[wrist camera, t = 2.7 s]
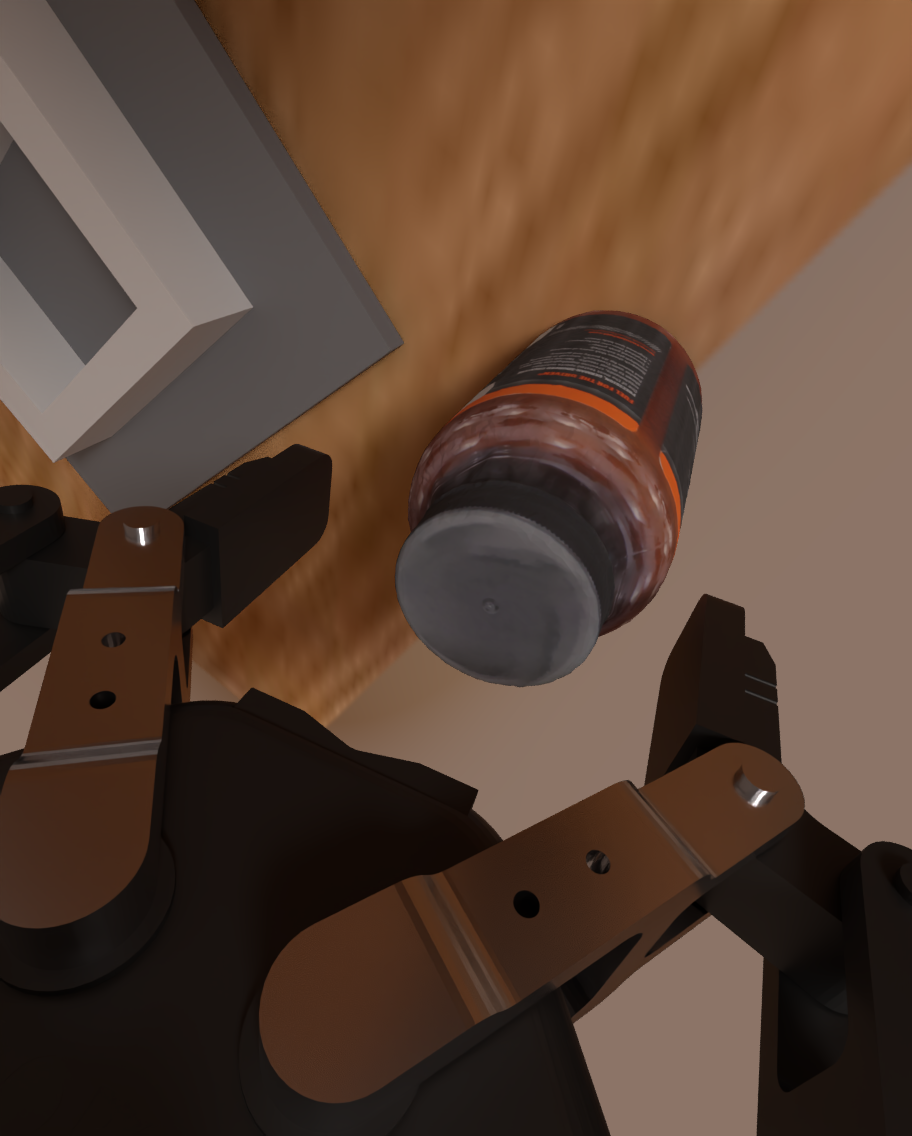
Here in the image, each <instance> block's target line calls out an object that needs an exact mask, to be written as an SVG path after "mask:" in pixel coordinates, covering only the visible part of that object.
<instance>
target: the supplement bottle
mask: <svg viewBox="0 0 912 1136" xmlns="http://www.w3.org/2000/svg"><path fill="white" fill-rule="evenodd" d="M701 419H702V395H701V387H700V382H699V379H698V376H697V373H696V370H695V368H694V366H693V363H692V362H691V360H690V358H689V356H688V355H687V353H686V351H685V350H684V348H683V347H682V346H681V345H680V344H679V343H678V341H677V340H676V339H675V338H674V337H673V336H672V335H671V334H670V333H669V332H667V331H666V330H665V329H664V328H662V327H661V326H659V325H657V324H656V323H654V322H652V321H650V320H648V319H645V318H643V317H640V316H638V315H634V314H631V313H626V312H620V311H591V312H587V313H583V314H579V315H576V316H573V317H570V318H568V319H566V320H564V321H562V322H560V323H558V324H557V325H555V326H553V327H551V328H550V329H549V330H547V331H546V332H544V333H543V334H541V335H540V336H539V337H538V338H537V339H536V340H535V341H534V342H533V343H531V344H530V345H529V346H528V347H527V348H526V349H525V350H524V351H523V352H522V353H521V354H520V355H518V356H517V357H516V358H515V359H514V360H513V361H512V362H511V363H510V364H509V365H508V366H507V367H506V368H505V369H504V370H503V371H502V372H501V373H500V374H498V375H497V376H496V377H495V378H494V379H493V380H492V381H491V382H490V383H489V384H488V385H487V386H486V387H485V388H483V389H482V390H481V391H480V392H479V393H478V394H477V395H476V396H475V397H474V398H473V399H472V400H471V401H470V402H469V403H468V404H467V405H465V406H464V407H463V408H462V409H461V410H460V411H459V412H458V413H457V414H456V415H455V416H454V417H453V418H452V419H451V420H450V421H449V422H448V423H447V424H446V425H445V426H444V427H443V428H442V429H441V430H440V431H439V432H438V433H437V435H436V436H435V437H434V438H433V440H432V441H431V442H430V444H429V445H428V446H427V448H426V449H425V451H424V453H423V455H422V456H421V459H420V461H419V463H418V465H417V468H416V471H415V474H414V477H413V480H412V484H411V490H410V495H409V501H408V503H409V508H408V521H409V524H410V529H411V533H410V535H409V536H408V538H407V539H406V540H405V542H404V544H403V546H402V548H401V550H400V553H399V556H398V559H397V563H396V573H395V587H396V592H397V597H398V601H399V604H400V606H401V609H402V612H403V614H404V616H405V618H406V620H407V621H408V623H409V625H410V626H411V628H412V629H413V631H414V632H415V634H416V635H417V637H418V638H419V639H420V640H421V641H422V642H423V643H424V644H425V645H426V646H427V648H428V649H429V650H431V651H432V652H433V653H434V654H435V655H437V656H438V657H440V658H441V659H442V660H443V661H444V662H445V663H447V664H449V665H450V666H452V667H453V668H455V669H457V670H459V671H461V672H462V673H464V674H467V675H469V676H471V677H474V678H476V679H479V680H483V681H485V682H489V683H495V684H502V685H508V686H517V687H525V686H535V685H542V684H546V683H550V682H553V681H555V680H556V679H559V678H562V677H564V676H566V675H568V674H570V673H571V672H572V671H573V670H574V669H575V668H577V667H578V666H579V665H581V664H582V663H583V662H584V661H585V659H586V658H587V656H588V655H589V654H590V652H591V651H592V649H593V647H594V645H595V644H596V641H597V639H598V637H599V636H602V635H605V634H607V633H609V632H611V631H614V630H616V629H617V628H619V627H621V626H622V625H624V624H626V623H628V622H630V621H631V619H633V618H634V617H635V616H636V615H638V614H639V613H640V612H641V611H642V610H643V609H644V608H645V607H646V606H647V604H649V603H650V602H651V601H652V599H653V598H654V597H655V595H656V593H657V592H658V591H659V588H660V586H661V585H662V583H663V582H664V580H665V578H666V575H667V573H668V570H669V568H670V565H671V563H672V560H673V557H674V555H675V551H676V547H677V542H678V538H679V532H680V528H681V523H682V518H683V513H684V508H685V502H686V498H687V493H688V489H689V485H690V478H691V474H692V468H693V463H694V457H695V452H696V447H697V442H698V437H699V431H700V425H701Z"/></svg>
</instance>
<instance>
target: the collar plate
mask: <svg viewBox="0 0 912 1136" xmlns="http://www.w3.org/2000/svg"><path fill="white" fill-rule="evenodd" d="M402 344H404V342H403V340H402V339H401V337H400V335H399V334H398V332H397V330H396V329H395V327H394V326H393V324H392V322H391V321H390V319H389V317H388V316H387V314H386V313H385V311H384V309H383V308H382V306H381V304H380V303H379V301H378V299H377V298H376V296H375V295H374V293H373V291H372V290H371V288H370V286H369V285H368V283H367V282H366V280H365V278H364V277H363V275H362V273H361V272H360V270H359V268H358V267H357V265H356V264H355V262H354V260H353V259H352V257H351V255H350V254H349V252H348V251H347V249H346V247H345V246H344V244H343V242H342V241H341V239H340V237H339V236H338V234H337V233H336V231H335V229H334V228H333V226H332V224H331V223H330V221H329V220H328V218H327V216H326V215H325V213H324V211H323V210H322V208H321V206H320V205H319V203H318V202H317V200H316V198H315V197H314V195H313V193H312V192H311V190H310V189H309V187H308V185H307V184H306V182H305V180H304V179H303V177H302V176H301V174H300V172H299V171H298V169H297V167H296V166H295V164H294V162H293V161H292V159H291V158H290V156H289V154H288V153H287V151H286V149H285V148H284V146H283V145H282V143H281V141H280V140H279V138H278V136H277V135H276V133H275V131H274V130H273V128H272V127H271V125H270V123H269V122H268V120H267V118H266V117H265V115H264V114H263V112H262V110H261V109H260V107H259V105H258V104H257V102H256V100H255V99H254V97H253V96H252V94H251V92H250V91H249V89H248V87H247V86H246V84H245V83H244V81H243V79H242V78H241V76H240V74H239V73H238V71H237V69H236V68H235V66H234V65H233V63H232V61H231V60H230V58H229V56H228V55H227V53H226V52H225V50H224V48H223V47H222V45H221V43H220V42H219V40H218V38H217V37H216V35H215V34H214V32H213V30H212V29H211V27H210V25H209V24H208V22H207V21H206V19H205V17H204V16H203V14H202V12H201V11H200V9H199V7H198V6H197V4H196V3H195V1H194V0H0V399H1V400H2V401H3V403H4V404H5V405H6V406H7V407H8V409H9V410H10V411H11V412H12V413H13V415H14V416H15V417H16V418H17V419H18V421H19V422H20V423H21V424H22V425H23V427H24V428H25V429H26V430H27V431H28V433H29V434H30V435H31V436H32V437H33V439H34V440H35V441H36V442H37V443H38V445H39V446H40V447H41V448H42V449H43V451H44V452H45V453H46V454H47V455H48V457H49V458H50V459H51V460H52V461H53V463H54V462H57V461H59V460H61V459H63V458H66V459H67V460H68V461H69V463H70V464H71V465H72V466H73V467H74V469H75V470H76V471H77V472H78V473H79V475H80V476H81V477H82V478H83V480H84V481H85V482H86V483H87V484H88V486H89V487H90V488H91V489H92V490H93V492H94V493H95V494H96V495H97V496H98V498H99V499H100V500H101V501H102V502H103V504H104V505H105V506H106V507H107V509H108V510H109V511H110V512H111V513H113V512H115V511H118V510H121V509H124V508H129V507H136V506H154V507H160V508H164V509H168V508H170V507H171V506H173V505H174V504H176V503H177V502H178V501H180V500H181V499H183V498H184V497H186V496H187V495H188V494H190V493H191V492H193V491H194V490H196V489H197V488H198V487H200V486H201V485H203V484H204V483H205V482H207V481H208V480H210V479H211V478H213V477H214V476H215V475H217V474H218V473H220V472H221V471H223V470H224V469H225V468H227V467H228V466H230V465H231V464H233V463H234V462H235V461H237V460H238V459H240V458H241V457H243V456H244V455H245V454H247V453H248V452H250V451H251V450H253V449H254V448H255V447H257V446H258V445H260V444H261V443H263V442H264V441H265V440H267V439H268V438H270V437H271V436H273V435H274V434H275V433H277V432H278V431H280V430H281V429H283V428H284V427H285V426H287V425H288V424H290V423H291V422H292V421H294V420H295V419H297V418H298V417H300V416H301V415H302V414H304V413H305V412H307V411H308V410H310V409H311V408H312V407H314V406H315V405H317V404H318V403H320V402H321V401H322V400H324V399H325V398H327V397H328V396H330V395H331V394H332V393H334V392H335V391H337V390H338V389H340V388H341V387H342V386H344V385H345V384H347V383H348V382H350V381H351V380H352V379H354V378H355V377H357V376H358V375H360V374H361V373H362V372H364V371H365V370H367V369H368V368H370V367H371V366H372V365H374V364H375V363H377V362H378V361H380V360H381V359H382V358H384V357H385V356H387V355H388V354H389V353H391V352H392V351H394V350H395V349H397V348H398V347H399V346H401V345H402Z"/></svg>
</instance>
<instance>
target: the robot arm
mask: <svg viewBox="0 0 912 1136" xmlns="http://www.w3.org/2000/svg"><path fill="white" fill-rule="evenodd" d="M331 476H332V460H331V457H330V456H329V455H327V454H324V453H322V452H319V451H316V450H313V449H311V448H308V447H305V446H302V445H300V444H294V445H292V446H290V447H289V448H287V449H286V450H284V451H282V452H281V453H279V454H278V455H276V456H275V457H273V458H269V457H265V458H261V459H257V460H254V461H250V462H246V463H243V464H242V465H240V466H239V467H237V468H235V469H234V470H232V471H230V472H229V473H228V475H227V476H226V475H224V476H222V477H221V478H219V479H217V480H216V481H214V484H209V485H208V486H206V487H204V488H203V489H201V490H199V491H198V492H196V493H194V494H193V495H191V496H190V497H188V498H186V499H185V500H183V501H181V502H180V503H178V504H176V505H175V506H173V507H172V508H170V509H168V510H167V509H164V508H160V507H154V506H136V507H129V508H124V509H121V510H118V511H115V512H113V513H111V514H110V515H108V516H106V517H105V518H104V519H103V520H102V521H101V522H97V521H91V520H85V519H78V518H72V517H66V516H63V511H62V507H61V502H60V499H59V497H58V495H57V494H56V493H54V492H53V491H51V490H49V489H46V488H43V487H39V486H33V485H10V486H3V487H0V692H1V691H2V690H3V689H4V688H6V687H7V686H8V685H10V684H11V683H12V682H13V681H15V680H16V679H17V678H18V677H20V676H21V675H22V674H24V673H25V672H26V671H27V670H29V669H30V668H31V667H32V666H34V665H35V664H36V663H38V662H39V661H40V660H41V659H42V658H44V657H45V656H46V655H48V654H49V653H50V652H51V654H50V658H49V662H48V665H47V669H46V672H45V676H44V680H43V683H42V687H41V691H40V694H39V698H38V701H37V705H36V709H35V713H34V716H33V720H32V723H31V727H30V731H29V734H28V738H27V742H26V745H25V748H24V749H21V750H17V751H14V752H11V753H7V754H4V755H0V1136H611V1135H610V1132H609V1130H608V1126H607V1123H606V1120H605V1118H604V1115H603V1112H602V1109H601V1106H600V1103H599V1100H598V1097H597V1094H596V1091H595V1088H594V1085H593V1082H592V1079H591V1076H590V1073H589V1070H588V1067H587V1064H586V1062H585V1059H584V1055H583V1052H582V1049H581V1046H580V1044H579V1041H578V1037H577V1034H576V1031H575V1029H574V1026H573V1023H575V1022H576V1021H577V1020H579V1019H580V1018H581V1017H583V1016H584V1015H585V1014H587V1013H588V1012H589V1011H591V1010H592V1009H593V1008H594V1007H596V1006H597V1005H598V1004H600V1003H601V1002H602V1001H603V1000H604V999H605V998H607V997H608V996H609V995H610V994H611V993H612V992H614V991H615V990H616V989H617V988H618V987H619V986H620V985H621V984H622V983H623V982H624V981H625V980H626V979H627V978H629V977H630V976H631V975H632V974H633V973H634V972H636V971H637V970H638V969H639V968H641V967H642V966H643V965H645V964H646V963H648V962H649V961H650V960H652V959H653V958H654V957H655V956H657V955H658V954H660V953H661V952H662V951H664V950H665V949H666V948H668V947H669V946H670V945H672V944H673V943H674V942H676V941H677V940H678V939H680V938H681V937H683V936H684V935H685V934H687V933H688V932H689V931H691V930H692V929H693V928H695V927H696V926H697V925H698V924H700V923H701V922H703V921H704V920H705V919H707V918H708V917H710V916H711V915H713V916H714V917H715V918H716V919H718V920H719V921H720V922H721V923H723V924H724V925H725V926H726V927H727V928H729V929H730V930H731V931H732V932H734V933H735V934H736V935H737V936H739V937H740V938H741V939H742V940H743V941H745V942H746V943H747V944H748V945H750V946H751V947H752V948H753V949H754V950H756V951H757V952H758V953H759V954H761V955H762V956H763V957H764V961H763V986H762V987H763V988H762V1012H761V1037H760V1064H759V1066H760V1067H759V1088H758V1089H759V1090H758V1114H757V1136H912V850H911V849H909V848H907V847H905V846H902V845H899V844H896V843H892V842H885V841H881V842H875V843H872V844H870V845H868V846H867V847H866V848H865V849H863V850H862V851H860V850H858V849H857V848H856V847H854V846H853V845H851V844H850V843H848V842H847V841H845V840H844V839H842V838H841V837H839V836H838V835H836V834H835V833H834V832H832V831H831V830H829V829H828V828H826V827H825V826H824V825H822V824H821V823H820V822H818V821H817V820H816V819H815V818H813V817H812V816H811V815H810V814H809V813H808V812H807V811H806V810H805V809H804V808H805V800H804V796H803V792H802V790H801V788H800V785H799V784H798V782H797V781H796V779H795V778H794V776H793V775H792V774H791V772H790V771H789V770H788V769H787V768H786V767H785V766H784V765H783V764H782V762H781V747H780V731H779V714H778V706H777V702H778V698H777V689H776V685H777V681H776V666H775V663H774V661H773V659H772V658H771V656H770V655H769V652H768V651H767V649H766V647H765V645H764V644H763V643H762V642H760V641H757V640H754V639H752V638H749V637H746V636H745V610H744V608H743V607H741V606H738V605H735V604H733V603H730V602H727V601H724V600H722V599H719V598H716V597H713V596H710V595H708V594H704V595H703V596H702V597H701V598H700V600H699V601H698V603H697V605H696V607H695V609H694V611H693V612H692V614H691V616H690V618H689V620H688V622H687V623H686V625H685V627H684V629H683V631H682V633H681V635H680V637H679V638H678V640H677V642H676V644H675V646H674V648H673V649H672V652H671V653H670V656H669V658H668V660H667V663H666V665H665V669H664V671H663V675H662V679H661V684H660V690H659V696H658V703H657V709H656V715H655V721H654V728H653V734H652V741H651V747H650V753H649V760H648V766H647V772H646V778H645V785H644V786H643V787H641V788H639V789H637V788H636V787H635V786H634V784H633V783H632V782H631V781H629V780H625V781H621V782H618V783H616V784H613V785H612V786H610V787H607V788H605V789H604V790H602V791H600V792H598V793H596V794H594V795H592V796H590V797H588V798H586V799H584V800H582V801H580V802H578V803H576V804H574V805H572V806H570V807H568V808H566V809H565V810H562V811H560V812H559V813H557V814H555V815H553V816H551V817H549V818H547V819H545V820H543V821H541V822H539V823H537V824H535V825H533V826H531V827H529V828H527V829H525V830H523V831H521V832H519V833H517V834H516V835H514V836H512V837H510V838H508V839H506V840H504V841H503V840H502V839H501V837H500V836H499V835H498V834H497V832H496V831H495V830H494V829H493V828H492V827H491V826H490V825H489V824H488V823H487V822H486V821H485V820H484V819H483V818H482V817H481V816H480V815H479V814H477V813H476V812H475V811H474V810H472V807H473V804H474V802H475V799H476V796H477V793H478V790H477V789H475V788H473V787H471V786H469V785H466V784H464V783H462V782H460V781H457V780H455V779H453V778H451V777H449V776H447V775H444V774H442V773H440V772H437V771H435V770H433V769H431V768H429V767H427V766H424V765H422V764H420V763H415V762H411V761H406V760H401V759H396V758H392V757H386V756H382V755H377V754H372V753H367V752H362V751H358V750H355V749H353V748H351V747H349V746H348V745H346V744H345V743H344V742H343V741H341V740H340V739H339V738H338V737H336V736H335V735H334V734H333V733H331V732H330V731H329V730H328V729H326V728H325V727H324V726H323V725H321V724H320V723H319V722H318V721H316V720H315V719H314V718H313V717H311V716H310V715H309V714H307V713H306V712H305V711H303V710H301V709H299V708H296V707H294V706H292V705H290V704H288V703H285V702H283V701H281V700H279V699H277V698H274V697H272V696H270V695H268V694H266V693H263V692H261V691H259V690H257V689H255V688H251V689H250V690H249V691H248V692H247V693H246V694H245V695H244V696H243V697H242V698H241V700H240V701H239V702H238V703H235V702H226V701H193V702H190V690H191V669H192V647H193V631H192V626H193V625H194V624H195V623H197V622H198V621H199V620H200V619H203V620H205V621H207V622H210V623H212V624H214V625H217V626H219V627H221V628H223V627H225V626H226V625H227V624H228V623H229V622H230V621H231V620H232V619H233V618H234V617H236V616H237V615H238V614H239V613H240V612H241V611H242V610H243V609H244V608H246V607H247V606H248V605H249V604H250V603H251V602H252V601H253V600H254V599H256V598H257V597H258V596H259V595H260V594H261V593H262V592H263V591H264V590H265V589H267V588H268V587H269V586H270V585H271V584H272V583H273V582H274V581H275V580H277V579H278V578H279V577H280V576H281V575H282V574H283V573H284V572H285V571H287V570H288V569H289V568H290V567H291V566H292V565H293V564H294V563H295V562H296V561H298V560H299V559H300V558H301V557H302V556H303V555H304V554H305V553H306V552H308V551H309V550H310V549H311V548H312V547H313V546H314V545H315V544H316V543H317V542H318V541H319V540H320V538H321V536H322V535H323V533H324V530H325V528H326V525H327V521H328V514H329V501H330V488H331Z"/></svg>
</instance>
